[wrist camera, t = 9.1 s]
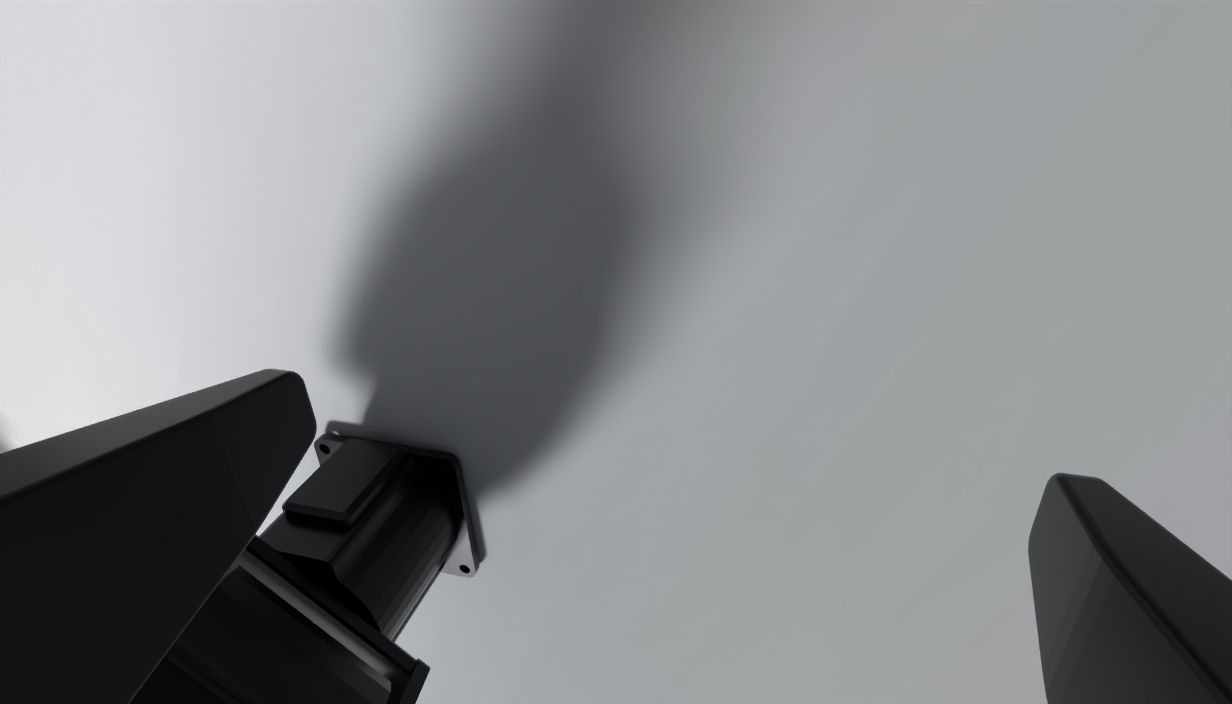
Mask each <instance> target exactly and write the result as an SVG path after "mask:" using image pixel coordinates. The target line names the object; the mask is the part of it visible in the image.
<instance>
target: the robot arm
mask: <svg viewBox="0 0 1232 704" xmlns="http://www.w3.org/2000/svg"><path fill="white" fill-rule="evenodd" d="M316 429H317V426H316V419H315V416H314V413H313V409H312V406H311V403H310V399H309V396H308V393H307V390H306V386H305V383H304V381H303V379H302V378H301V376H300V375H299V374H297V373H295V372H293V371H286V370H279V369H265V370H261V371H258V372H255V373H252V374H249V375H246V376H243V377H239V378H236V379H233V380H230V381H227V382H224V383H221V384H218V385H214V386H211V387H208V388H205V389H202V390H199V391H196V392H192V393H189V394H186V395H183V396H180V397H177V398H174V399H170V400H167V401H164V402H161V403H158V404H155V405H152V406H148V407H145V408H142V409H139V410H136V411H133V412H130V413H126V414H123V415H120V416H117V417H114V418H111V419H108V420H104V421H101V422H98V423H95V424H92V425H89V426H86V427H82V428H79V429H76V430H73V431H70V432H67V433H64V434H60V435H57V436H54V437H51V438H48V439H45V440H42V441H38V442H35V443H32V444H29V445H26V446H23V447H20V448H16V449H13V450H10V451H7V452H4V453H1V454H0V704H415V703H416V701H417V699H418V696H419V694H420V692H421V689H422V687H423V685H424V682H425V680H426V678H427V675H428V673H429V671H430V667H429V666H428V665H427V664H425V663H424V662H423V661H421V660H420V659H417V660H416V659H414V658H413V657H412V656H411V655H409V654H408V653H407V652H406V651H404V650H403V649H402V648H400V647H399V646H398V645H397V644H395V643H394V642H395V641H396V639H397V638H398V636H399V635H400V633H401V632H402V630H403V629H404V627H405V626H406V624H407V622H408V621H409V619H410V618H411V616H412V615H413V613H414V612H415V610H416V609H417V607H418V606H419V604H420V602H421V601H422V599H423V598H424V596H425V595H426V593H427V592H428V590H429V589H430V587H431V586H432V584H433V583H434V581H435V579H436V578H437V576H438V575H439V573H440V572H443V573H448V574H453V575H458V576H463V577H473V576H474V575H475V573H476V572H477V570H478V568H479V560H478V555H477V549H476V544H475V539H474V534H473V528H472V523H471V518H470V512H469V507H468V502H467V497H466V491H465V486H464V481H463V476H462V470H461V465H460V462H459V460H458V459H457V458H456V457H455V456H454V455H452V454H450V453H447V452H441V451H435V450H428V449H422V448H416V447H409V446H403V445H397V444H390V443H384V442H378V441H371V440H365V439H359V438H352V437H346V436H339V435H333V434H323V435H321V436H320V437H319V438H318V439H317V440H316V441H315V443H314V448H315V451H316V454H317V457H318V460H319V463H320V467H319V468H318V469H317V470H316V471H315V472H314V473H313V474H312V475H311V476H310V477H309V478H308V479H307V480H306V481H305V482H304V483H303V484H302V485H301V486H300V487H299V488H298V489H297V490H296V491H295V492H294V493H293V494H292V495H291V496H290V497H289V498H288V499H287V500H286V501H285V502H284V503H283V505H282V509H283V513H282V514H281V515H280V516H279V517H278V518H277V519H276V520H275V521H274V522H273V523H272V524H271V525H270V526H269V527H268V528H267V529H266V530H265V531H264V532H263V533H262V534H261V535H260V536H257V535H256V532H257V531H258V529H259V528H260V526H261V525H262V523H263V522H264V520H265V518H266V517H267V515H268V514H269V512H270V510H271V509H272V507H273V505H274V504H275V502H276V501H277V499H278V497H279V496H280V494H281V492H282V491H283V489H284V488H285V486H286V484H287V483H288V481H289V479H290V478H291V476H292V475H293V473H294V471H295V470H296V468H297V466H298V465H299V463H300V461H301V460H302V458H303V457H304V455H305V453H306V452H307V450H308V448H309V447H310V445H311V444H312V442H313V440H314V437H315V434H316ZM445 464H446V465H447V466H448V467H447V466H446V465H445ZM1028 554H1029V563H1030V572H1031V580H1032V588H1033V597H1034V605H1035V613H1036V622H1037V630H1038V638H1039V647H1040V655H1041V663H1042V672H1043V678H1044V685H1045V692H1046V698H1047V702H1048V704H1232V580H1231V579H1229V578H1228V577H1227V576H1226V575H1224V574H1223V573H1222V572H1220V571H1219V570H1218V569H1217V568H1215V567H1214V566H1213V565H1211V564H1210V563H1209V562H1208V561H1206V560H1205V559H1204V558H1202V557H1201V556H1200V555H1199V554H1197V553H1196V552H1195V551H1193V550H1192V549H1191V548H1190V547H1188V546H1187V545H1186V544H1184V543H1183V542H1182V541H1181V540H1179V539H1178V538H1177V537H1175V536H1174V535H1173V534H1172V533H1170V532H1169V531H1168V530H1167V529H1165V528H1164V527H1163V526H1161V525H1160V524H1159V523H1158V522H1156V521H1155V520H1154V519H1152V518H1151V517H1150V516H1149V515H1147V514H1146V513H1145V512H1143V511H1142V510H1141V509H1140V508H1138V507H1137V506H1136V505H1134V504H1133V503H1132V502H1131V501H1129V500H1128V499H1127V498H1125V497H1124V496H1123V495H1122V494H1120V493H1119V492H1118V491H1116V490H1115V489H1114V488H1113V487H1111V486H1110V485H1109V484H1108V483H1106V482H1105V481H1103V480H1102V479H1099V478H1096V477H1089V476H1081V475H1073V474H1066V473H1057V474H1055V475H1053V476H1052V477H1051V478H1050V479H1049V481H1048V482H1047V485H1046V487H1045V490H1044V493H1043V496H1042V499H1041V502H1040V505H1039V508H1038V511H1037V514H1036V517H1035V520H1034V523H1033V526H1032V529H1031V532H1030V537H1029V545H1028Z"/></svg>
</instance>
